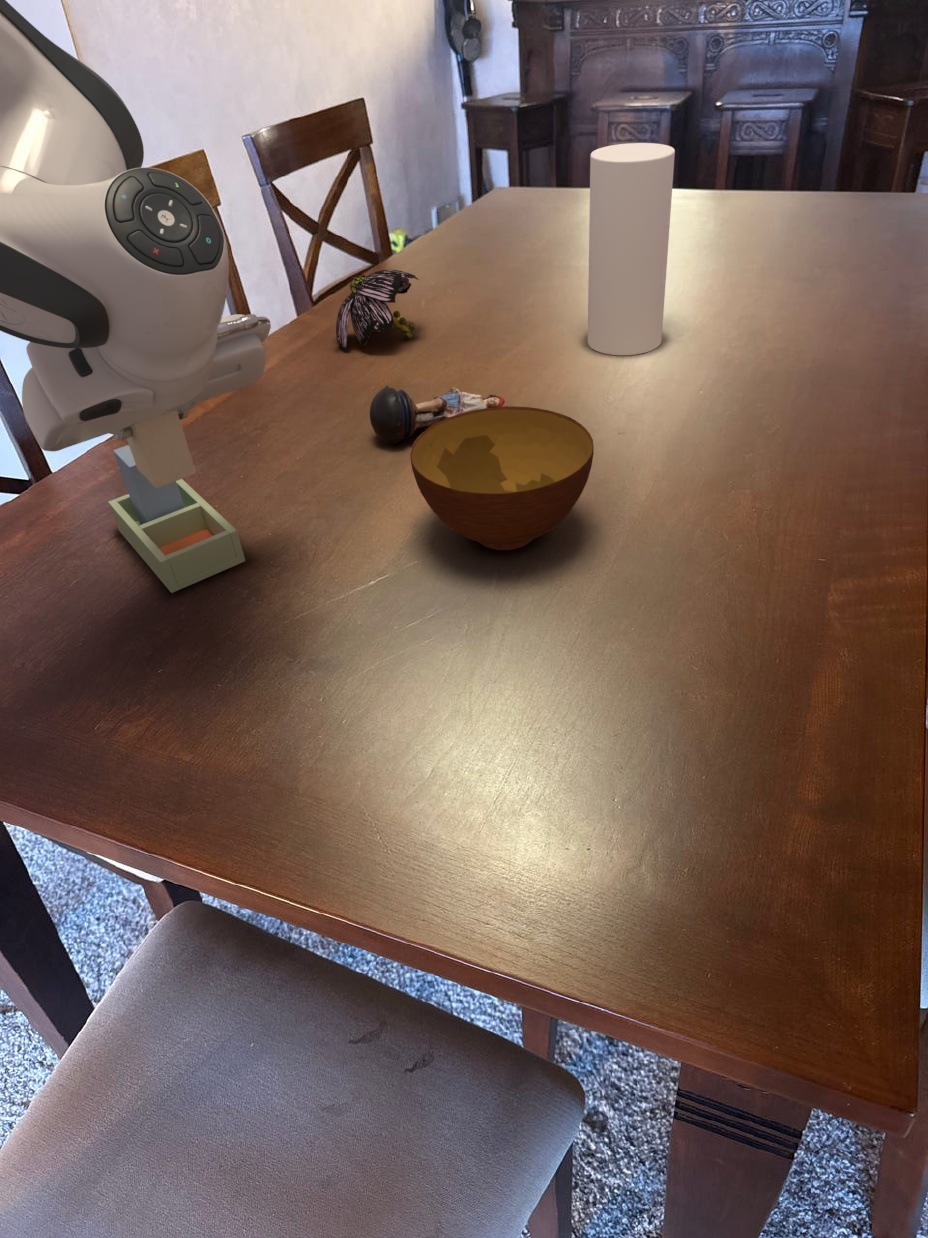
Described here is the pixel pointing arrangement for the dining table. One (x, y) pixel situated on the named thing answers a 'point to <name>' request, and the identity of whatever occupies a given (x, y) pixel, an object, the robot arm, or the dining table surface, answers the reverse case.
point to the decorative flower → (373, 306)
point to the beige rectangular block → (161, 449)
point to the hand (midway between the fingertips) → (148, 422)
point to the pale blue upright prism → (146, 490)
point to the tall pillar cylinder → (628, 246)
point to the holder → (181, 539)
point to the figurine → (420, 411)
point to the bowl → (503, 472)
